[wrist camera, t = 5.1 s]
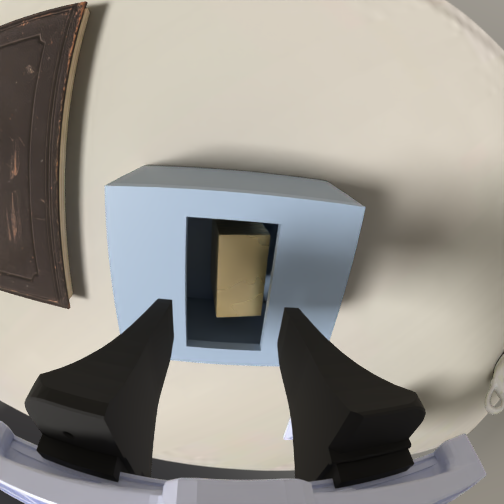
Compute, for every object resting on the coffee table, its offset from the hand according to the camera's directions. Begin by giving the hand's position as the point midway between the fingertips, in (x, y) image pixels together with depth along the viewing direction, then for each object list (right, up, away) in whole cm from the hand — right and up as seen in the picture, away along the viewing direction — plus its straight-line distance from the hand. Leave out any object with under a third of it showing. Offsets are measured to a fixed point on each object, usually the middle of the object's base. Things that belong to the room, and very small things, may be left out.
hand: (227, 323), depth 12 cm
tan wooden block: (0, +3, +8) cm, 8 cm away
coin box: (-1, +4, +8) cm, 9 cm away
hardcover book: (-20, +11, +5) cm, 23 cm away
